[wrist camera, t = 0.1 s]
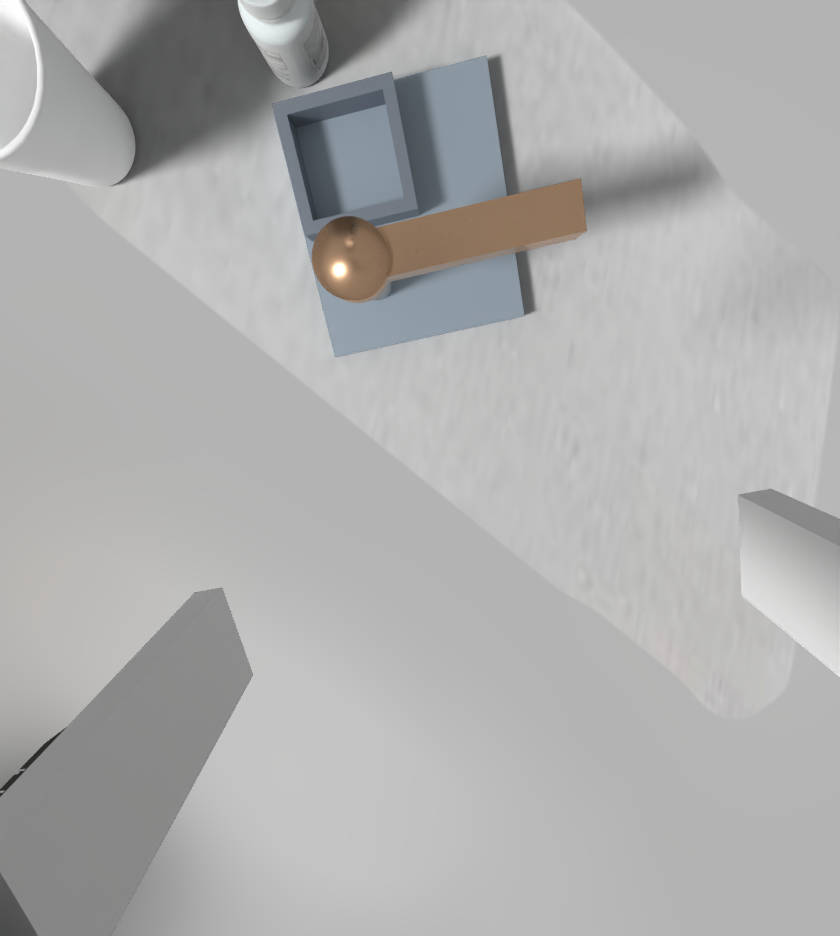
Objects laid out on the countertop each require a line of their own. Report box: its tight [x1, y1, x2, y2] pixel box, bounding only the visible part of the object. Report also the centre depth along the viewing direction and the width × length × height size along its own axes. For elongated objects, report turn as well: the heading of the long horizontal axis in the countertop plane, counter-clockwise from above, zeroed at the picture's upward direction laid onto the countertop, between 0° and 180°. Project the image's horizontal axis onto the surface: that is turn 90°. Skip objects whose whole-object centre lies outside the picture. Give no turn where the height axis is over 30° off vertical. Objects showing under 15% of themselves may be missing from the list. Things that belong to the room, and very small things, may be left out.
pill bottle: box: [238, 0, 329, 88], centre depth 29 cm, size 4×4×8 cm
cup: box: [0, 0, 136, 187], centre depth 29 cm, size 10×10×11 cm
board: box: [272, 55, 524, 357], centre depth 30 cm, size 17×15×10 cm
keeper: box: [312, 178, 587, 303], centre depth 25 cm, size 14×4×2 cm, turn 102°
